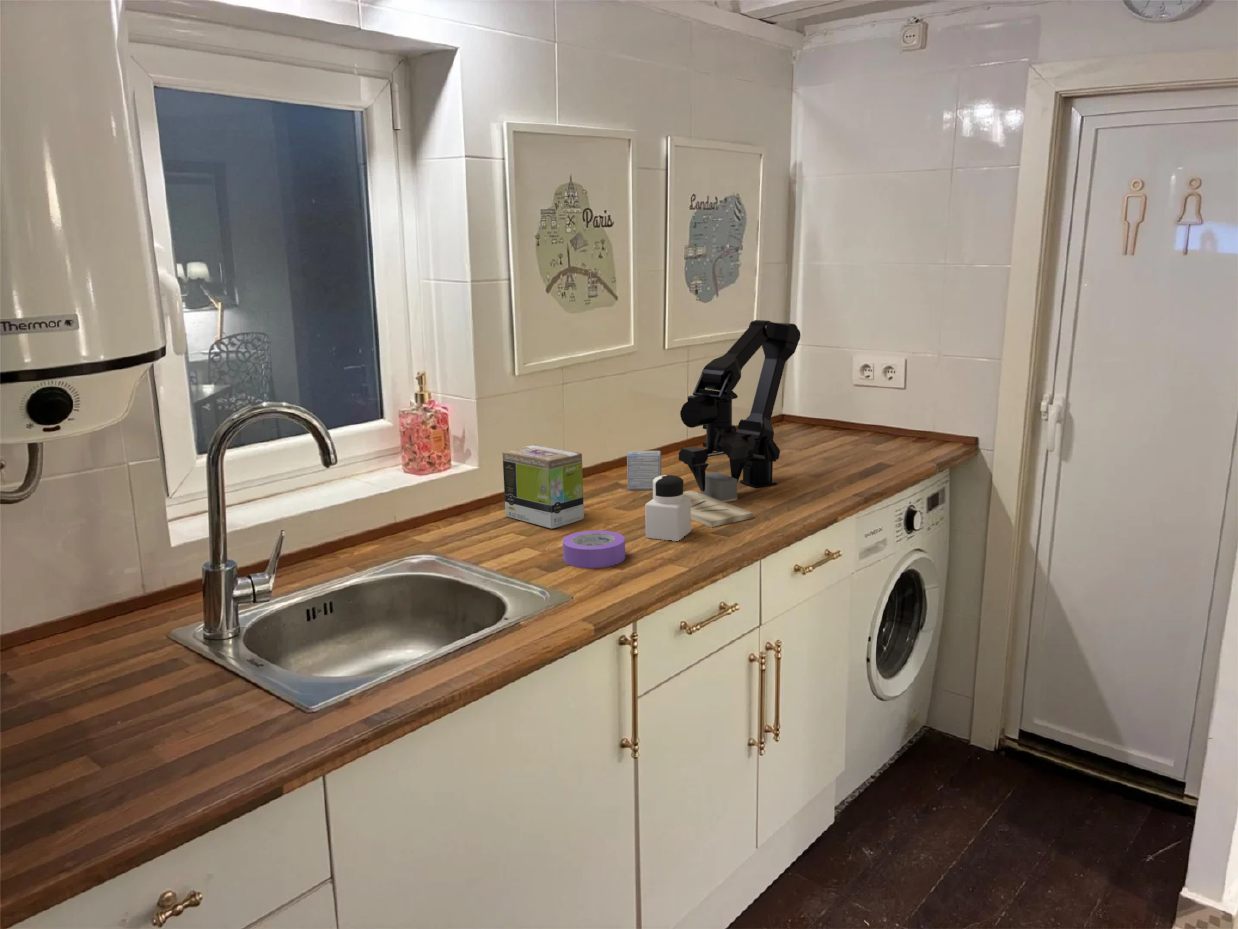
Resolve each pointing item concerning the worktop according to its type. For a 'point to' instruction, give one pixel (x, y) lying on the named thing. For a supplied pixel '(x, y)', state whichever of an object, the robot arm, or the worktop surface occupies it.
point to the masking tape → (594, 549)
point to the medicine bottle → (668, 510)
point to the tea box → (543, 485)
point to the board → (714, 510)
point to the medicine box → (643, 469)
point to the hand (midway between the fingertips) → (718, 487)
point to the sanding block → (720, 487)
